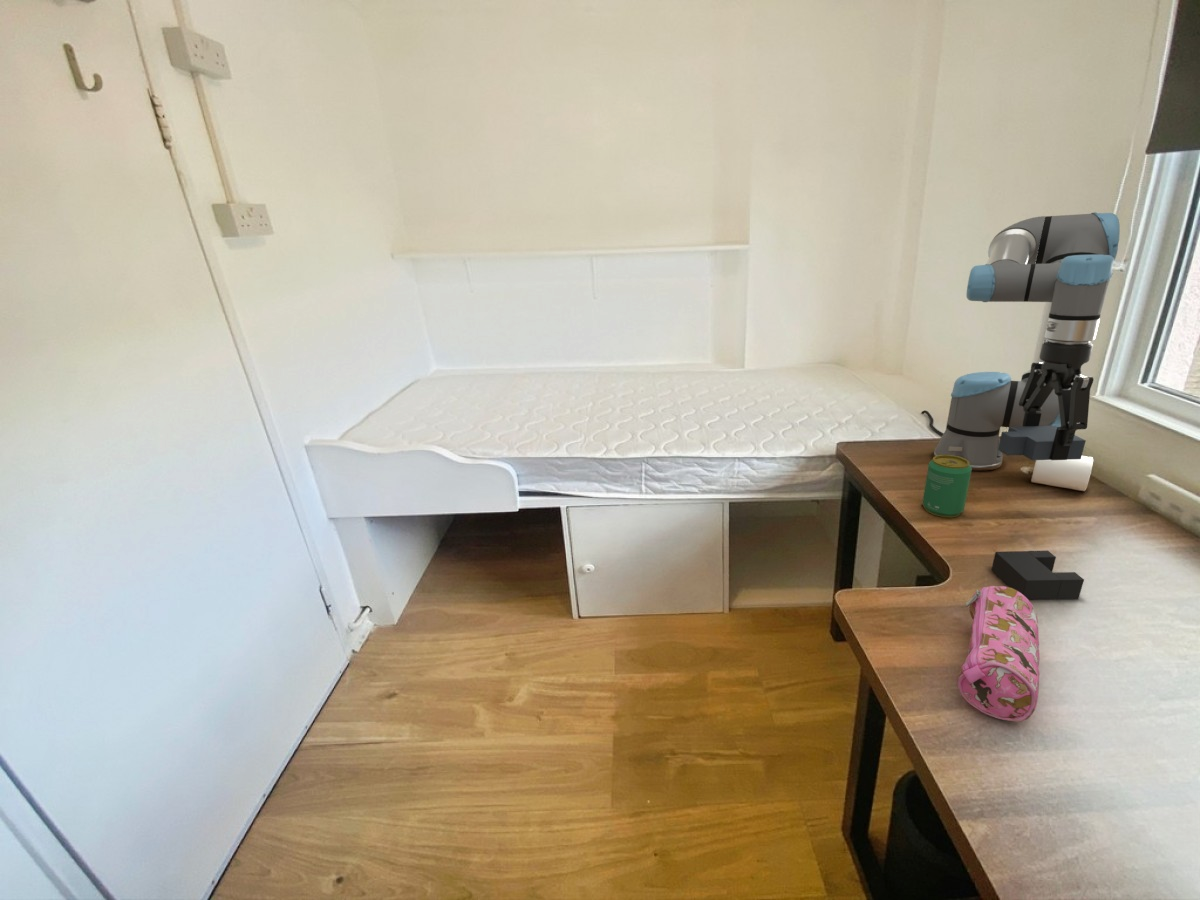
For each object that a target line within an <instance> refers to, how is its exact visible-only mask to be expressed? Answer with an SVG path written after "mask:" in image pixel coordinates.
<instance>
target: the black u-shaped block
mask: <svg viewBox="0 0 1200 900" xmlns="http://www.w3.org/2000/svg"><path fill="white" fill-rule="evenodd" d="M1056 559H1057V557H1056V556H1055V555H1054V553H1052V552H1050V551H1049V550H1013V551H1010V550H1007V551H1006V550H1005V551H994V557H993V560H992V566H991V572H993V573H994V574H995V575H996V576H997V577H998V578H999V579H1000V580H1001V581H1002V582H1003V583H1004V585H1006V587H1010V588H1013V589H1015V590H1017V591H1018V592H1020V593H1021V594H1023V595H1024V596H1025V597H1026V598H1027V599H1028V600H1029V601H1038V600H1040V601H1042V600H1043V601H1046V600H1047V601H1049V600H1052V601H1053V600H1056V601H1057V600H1079V598H1080V595H1081V593H1082V588H1083V585H1084V582H1085V578H1083V577H1081V576H1080V575H1079V574H1078V573H1077V572H1075V571H1066V572H1065V571H1064V572H1063V571H1062V572H1060V571H1059V572H1057V571H1056V572H1053V570H1054V566H1055V562H1056Z"/></svg>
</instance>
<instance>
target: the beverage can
mask: <svg viewBox="0 0 1200 900" xmlns="http://www.w3.org/2000/svg"><path fill="white" fill-rule="evenodd" d="M969 464H970V463H969V461H968V460H966V459H964V458H962V457H958V456H953V455H937V456H935V457H934V456H933V457H932V459H931V460H930V461H929V462H928V465H927V466H928V467H927V473H926V478H925V485H924V491H923V496H922V497H923V498H922V506H923V509H924V510H925V511H926V512H927V513H929V514H931V515H933V516H937V517H940V518H957V517H959V516H960V515H961V514H962V513H963V512H964V510H965V507H966V502H967V496H968V491H969V485H970V481H971V476H972V472H973V470H972V468H971V466H970V465H969Z"/></svg>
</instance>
